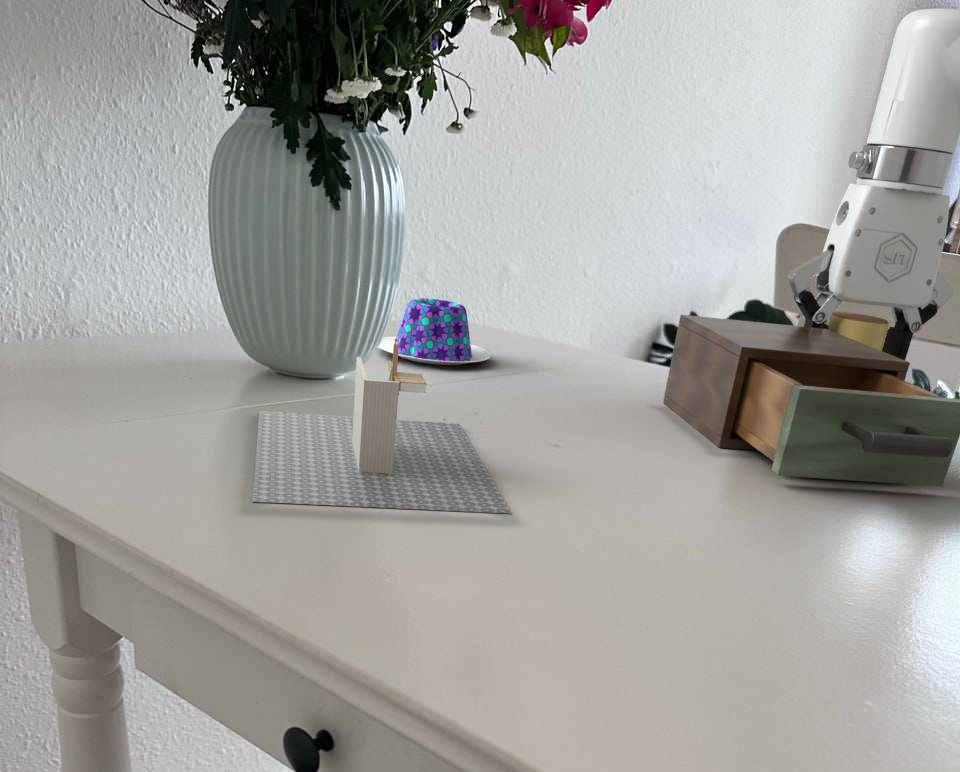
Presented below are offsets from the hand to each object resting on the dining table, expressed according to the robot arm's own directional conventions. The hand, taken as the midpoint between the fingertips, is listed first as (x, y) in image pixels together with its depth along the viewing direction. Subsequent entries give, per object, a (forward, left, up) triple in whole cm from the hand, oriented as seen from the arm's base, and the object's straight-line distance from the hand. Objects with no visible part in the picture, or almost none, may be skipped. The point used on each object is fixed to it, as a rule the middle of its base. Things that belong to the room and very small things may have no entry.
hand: (848, 366), depth 95 cm
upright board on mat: (+48, +26, -5) cm, 55 cm away
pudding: (+40, -10, -5) cm, 42 cm away
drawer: (+12, +23, -3) cm, 26 cm away
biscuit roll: (0, 0, -4) cm, 4 cm away
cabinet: (+12, +10, -4) cm, 16 cm away
